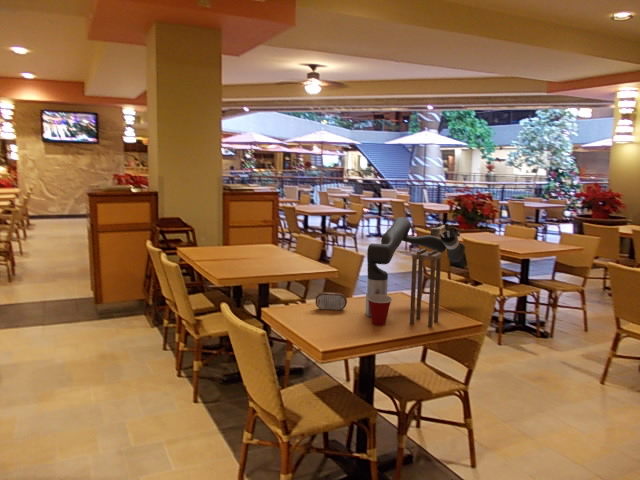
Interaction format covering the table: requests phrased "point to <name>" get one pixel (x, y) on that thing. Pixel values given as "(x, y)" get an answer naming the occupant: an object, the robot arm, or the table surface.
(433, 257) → the walnut stand
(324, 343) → the table surface
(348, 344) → the table surface
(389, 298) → the plastic cup
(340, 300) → the tin
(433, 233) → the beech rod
